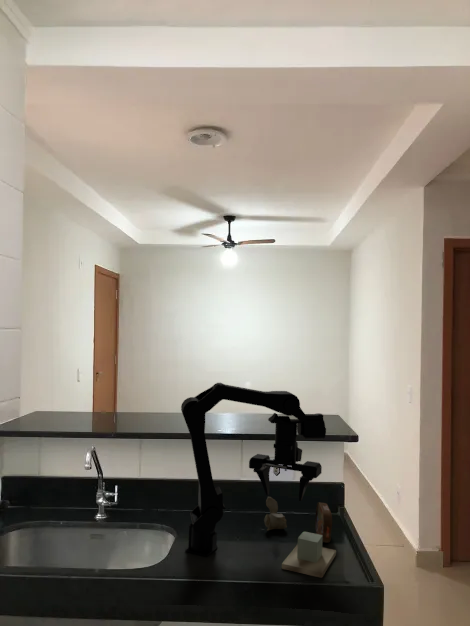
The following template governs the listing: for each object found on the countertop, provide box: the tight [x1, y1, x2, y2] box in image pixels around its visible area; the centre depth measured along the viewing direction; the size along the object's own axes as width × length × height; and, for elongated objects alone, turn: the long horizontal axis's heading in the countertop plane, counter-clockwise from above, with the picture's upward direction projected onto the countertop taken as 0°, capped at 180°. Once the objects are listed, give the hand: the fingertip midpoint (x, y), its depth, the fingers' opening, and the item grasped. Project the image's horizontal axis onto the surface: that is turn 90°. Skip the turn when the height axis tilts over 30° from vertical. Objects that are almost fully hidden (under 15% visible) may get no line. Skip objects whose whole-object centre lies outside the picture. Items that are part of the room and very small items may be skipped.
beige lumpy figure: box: [263, 496, 288, 531], centre depth 156 cm, size 9×6×10 cm
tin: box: [314, 501, 333, 544], centre depth 151 cm, size 15×3×8 cm, turn 178°
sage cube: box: [297, 531, 323, 563], centre depth 135 cm, size 5×5×5 cm
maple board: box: [281, 543, 337, 579], centre depth 135 cm, size 10×14×1 cm
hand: (283, 497), depth 143 cm, fingers open, 9 cm apart
